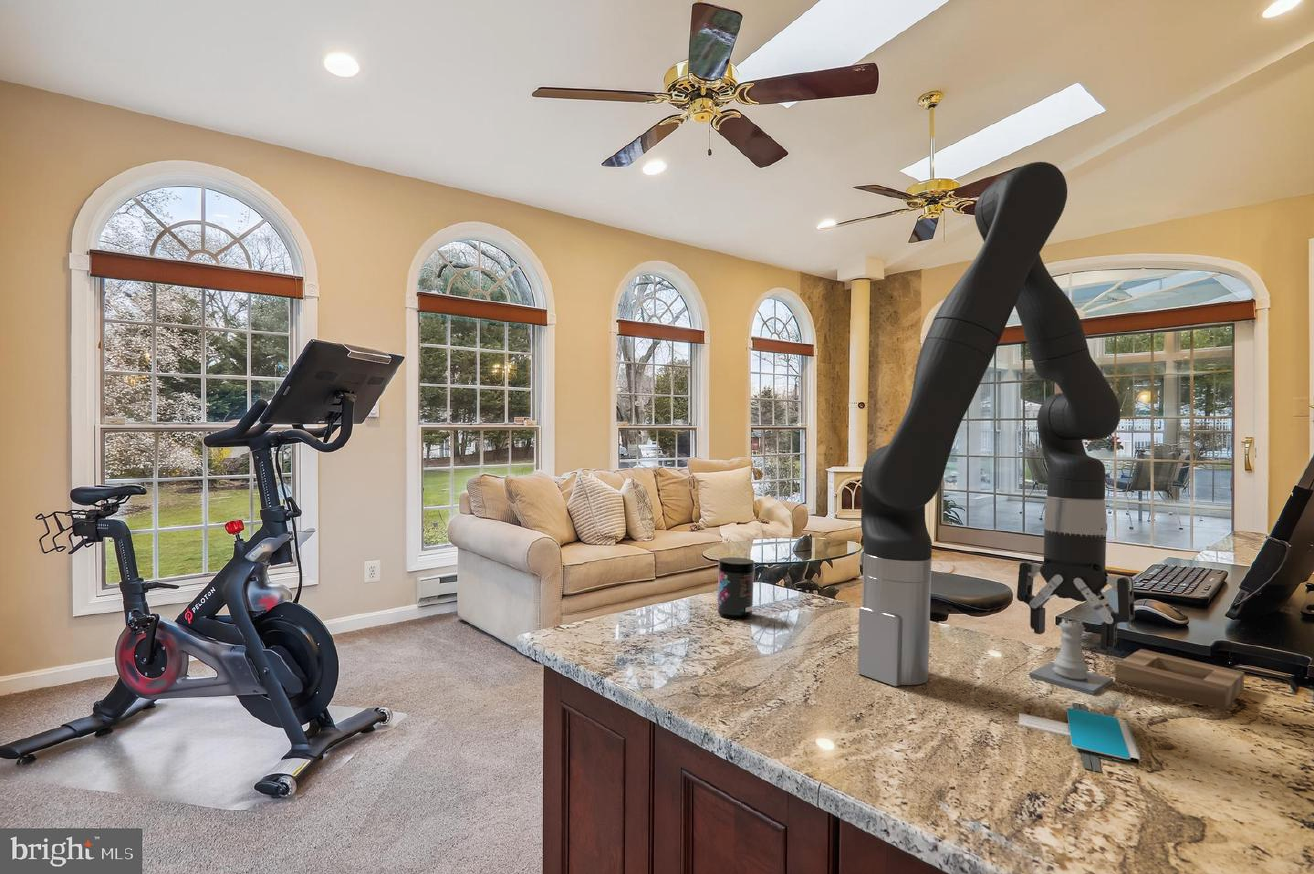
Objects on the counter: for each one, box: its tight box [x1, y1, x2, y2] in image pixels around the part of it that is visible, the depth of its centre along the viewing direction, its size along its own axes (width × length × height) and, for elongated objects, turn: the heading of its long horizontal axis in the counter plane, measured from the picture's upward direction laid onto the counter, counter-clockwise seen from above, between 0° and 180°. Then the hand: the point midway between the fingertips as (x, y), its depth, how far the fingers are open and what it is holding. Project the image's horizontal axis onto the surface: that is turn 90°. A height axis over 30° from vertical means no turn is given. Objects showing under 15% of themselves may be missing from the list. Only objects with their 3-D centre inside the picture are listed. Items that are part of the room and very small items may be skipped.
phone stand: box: [1018, 702, 1145, 773], centre depth 74 cm, size 20×12×2 cm, turn 150°
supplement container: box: [717, 556, 755, 620], centre depth 121 cm, size 7×7×10 cm
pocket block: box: [1114, 648, 1245, 711], centre depth 91 cm, size 12×12×2 cm
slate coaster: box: [1028, 661, 1114, 696], centre depth 92 cm, size 8×8×1 cm
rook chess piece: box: [1052, 617, 1090, 680], centre depth 92 cm, size 4×4×8 cm
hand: (1071, 640), depth 92 cm, fingers open, 8 cm apart
